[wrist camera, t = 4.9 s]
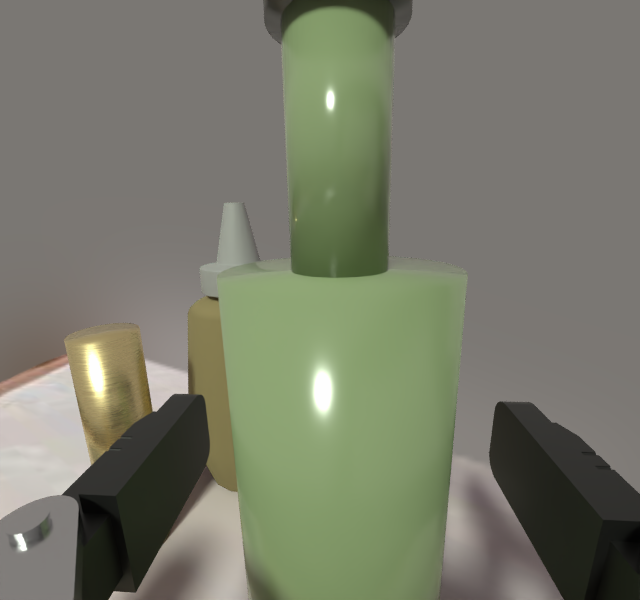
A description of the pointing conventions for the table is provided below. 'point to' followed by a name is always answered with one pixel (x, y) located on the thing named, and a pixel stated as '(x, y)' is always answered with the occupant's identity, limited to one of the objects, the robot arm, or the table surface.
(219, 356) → the squeeze bottle
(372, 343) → the olive bottle
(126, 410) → the brass rod
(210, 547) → the table surface
